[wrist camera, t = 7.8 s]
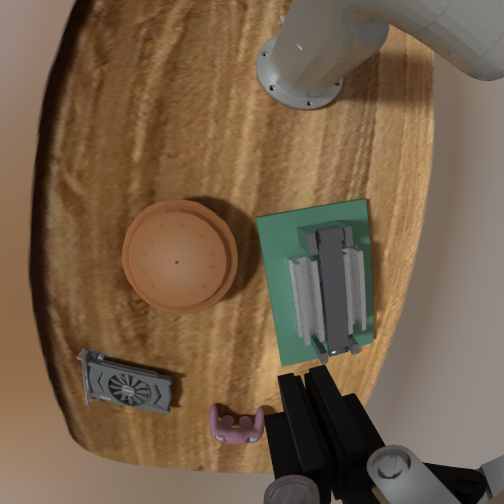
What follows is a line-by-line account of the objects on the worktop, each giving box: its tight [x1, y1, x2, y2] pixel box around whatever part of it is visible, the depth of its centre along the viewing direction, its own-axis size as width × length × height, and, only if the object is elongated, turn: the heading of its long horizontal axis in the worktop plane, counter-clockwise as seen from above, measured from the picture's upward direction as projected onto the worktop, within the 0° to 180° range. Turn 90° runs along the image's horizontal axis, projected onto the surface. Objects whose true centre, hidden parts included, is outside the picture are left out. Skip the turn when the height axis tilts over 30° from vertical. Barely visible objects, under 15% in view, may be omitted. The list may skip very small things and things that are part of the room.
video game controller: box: [209, 405, 265, 444], centre depth 47 cm, size 10×5×7 cm, turn 83°
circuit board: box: [256, 199, 373, 367], centre depth 44 cm, size 24×16×1 cm, turn 10°
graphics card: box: [77, 349, 173, 414], centre depth 45 cm, size 17×4×12 cm
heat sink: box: [286, 220, 366, 363], centre depth 40 cm, size 18×10×6 cm, turn 10°
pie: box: [122, 199, 238, 314], centre depth 39 cm, size 16×16×5 cm
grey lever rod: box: [316, 225, 349, 357], centre depth 38 cm, size 19×3×2 cm, turn 10°
